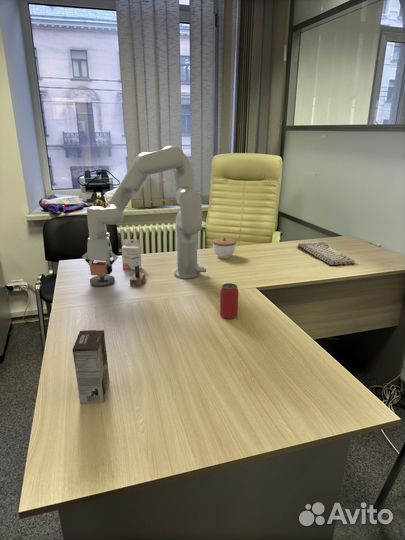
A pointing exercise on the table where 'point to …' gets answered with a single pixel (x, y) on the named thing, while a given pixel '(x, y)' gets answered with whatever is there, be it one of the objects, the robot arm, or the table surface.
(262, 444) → the table surface
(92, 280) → the hub
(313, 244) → the mechanical keyboard
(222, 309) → the beer can
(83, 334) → the coffee box
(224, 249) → the lidded bowl
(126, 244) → the ink cartridge box
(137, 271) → the stand
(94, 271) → the collar
